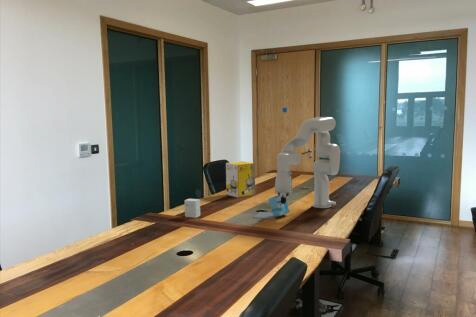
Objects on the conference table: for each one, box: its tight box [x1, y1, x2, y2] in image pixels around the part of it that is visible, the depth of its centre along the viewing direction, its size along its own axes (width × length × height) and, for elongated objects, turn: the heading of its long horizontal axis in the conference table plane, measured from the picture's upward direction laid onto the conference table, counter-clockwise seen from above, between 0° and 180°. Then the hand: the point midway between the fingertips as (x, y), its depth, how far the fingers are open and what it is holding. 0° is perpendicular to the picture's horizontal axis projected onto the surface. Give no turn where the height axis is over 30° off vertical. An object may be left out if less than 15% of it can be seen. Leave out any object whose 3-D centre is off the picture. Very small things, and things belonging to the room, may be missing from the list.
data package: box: [268, 194, 290, 217], centre depth 244 cm, size 12×4×12 cm, turn 142°
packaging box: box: [225, 160, 256, 199], centre depth 310 cm, size 16×16×25 cm
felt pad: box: [252, 211, 276, 220], centre depth 246 cm, size 13×14×1 cm
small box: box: [183, 198, 201, 218], centre depth 246 cm, size 8×6×10 cm
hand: (283, 203), depth 242 cm, fingers closed
